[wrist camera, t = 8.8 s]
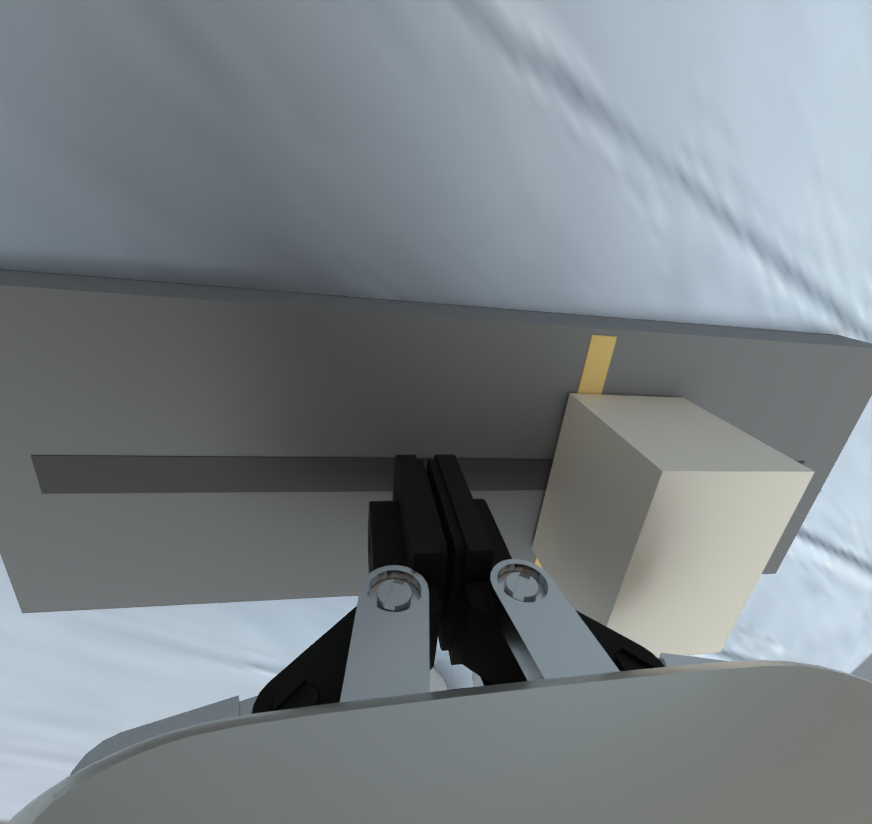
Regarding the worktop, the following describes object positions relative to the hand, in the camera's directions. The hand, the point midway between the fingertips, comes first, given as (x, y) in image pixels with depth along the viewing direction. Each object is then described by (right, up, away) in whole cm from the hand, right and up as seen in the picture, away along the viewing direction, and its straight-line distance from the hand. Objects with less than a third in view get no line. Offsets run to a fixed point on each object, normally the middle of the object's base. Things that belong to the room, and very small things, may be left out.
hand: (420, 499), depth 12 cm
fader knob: (+6, 0, +3) cm, 7 cm away
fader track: (+2, +1, +4) cm, 4 cm away
